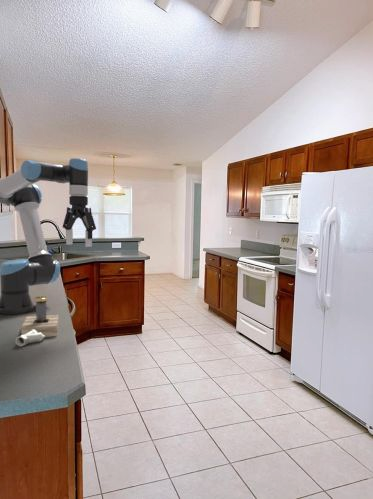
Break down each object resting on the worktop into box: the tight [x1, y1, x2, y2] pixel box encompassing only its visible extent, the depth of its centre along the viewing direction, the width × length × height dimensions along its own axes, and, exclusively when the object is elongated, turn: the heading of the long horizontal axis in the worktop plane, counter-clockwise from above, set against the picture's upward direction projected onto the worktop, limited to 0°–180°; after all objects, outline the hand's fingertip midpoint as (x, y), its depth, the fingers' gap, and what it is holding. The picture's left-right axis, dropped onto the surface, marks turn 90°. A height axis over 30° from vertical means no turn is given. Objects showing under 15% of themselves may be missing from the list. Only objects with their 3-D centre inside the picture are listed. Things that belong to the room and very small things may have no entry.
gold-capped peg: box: [34, 296, 48, 323], centre depth 133 cm, size 4×4×13 cm
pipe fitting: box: [15, 329, 46, 347], centre depth 122 cm, size 8×4×7 cm
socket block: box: [20, 314, 60, 338], centre depth 134 cm, size 14×12×4 cm
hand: (78, 245), depth 150 cm, fingers open, 13 cm apart
